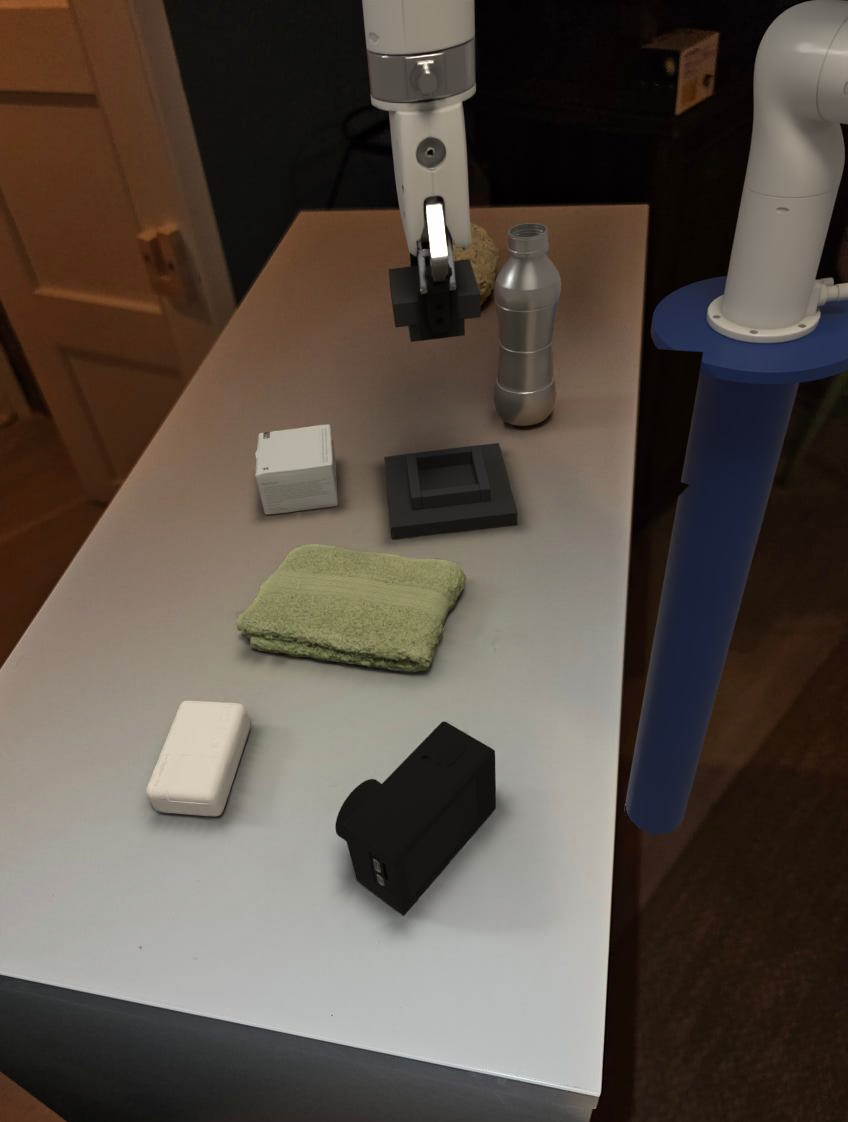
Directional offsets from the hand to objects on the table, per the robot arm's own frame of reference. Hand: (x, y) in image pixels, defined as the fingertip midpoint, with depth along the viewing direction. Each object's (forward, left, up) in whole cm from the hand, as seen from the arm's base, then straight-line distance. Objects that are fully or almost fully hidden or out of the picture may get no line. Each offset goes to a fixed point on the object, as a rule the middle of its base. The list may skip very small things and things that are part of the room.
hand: (435, 314), depth 73 cm
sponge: (-6, -49, -19) cm, 53 cm away
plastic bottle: (-10, -13, -19) cm, 25 cm away
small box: (+15, -4, -19) cm, 25 cm away
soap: (+22, +31, -19) cm, 42 cm away
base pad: (0, 0, -19) cm, 19 cm away
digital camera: (+6, +39, -19) cm, 44 cm away
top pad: (0, 0, -1) cm, 1 cm away
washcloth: (+10, +16, -19) cm, 27 cm away
